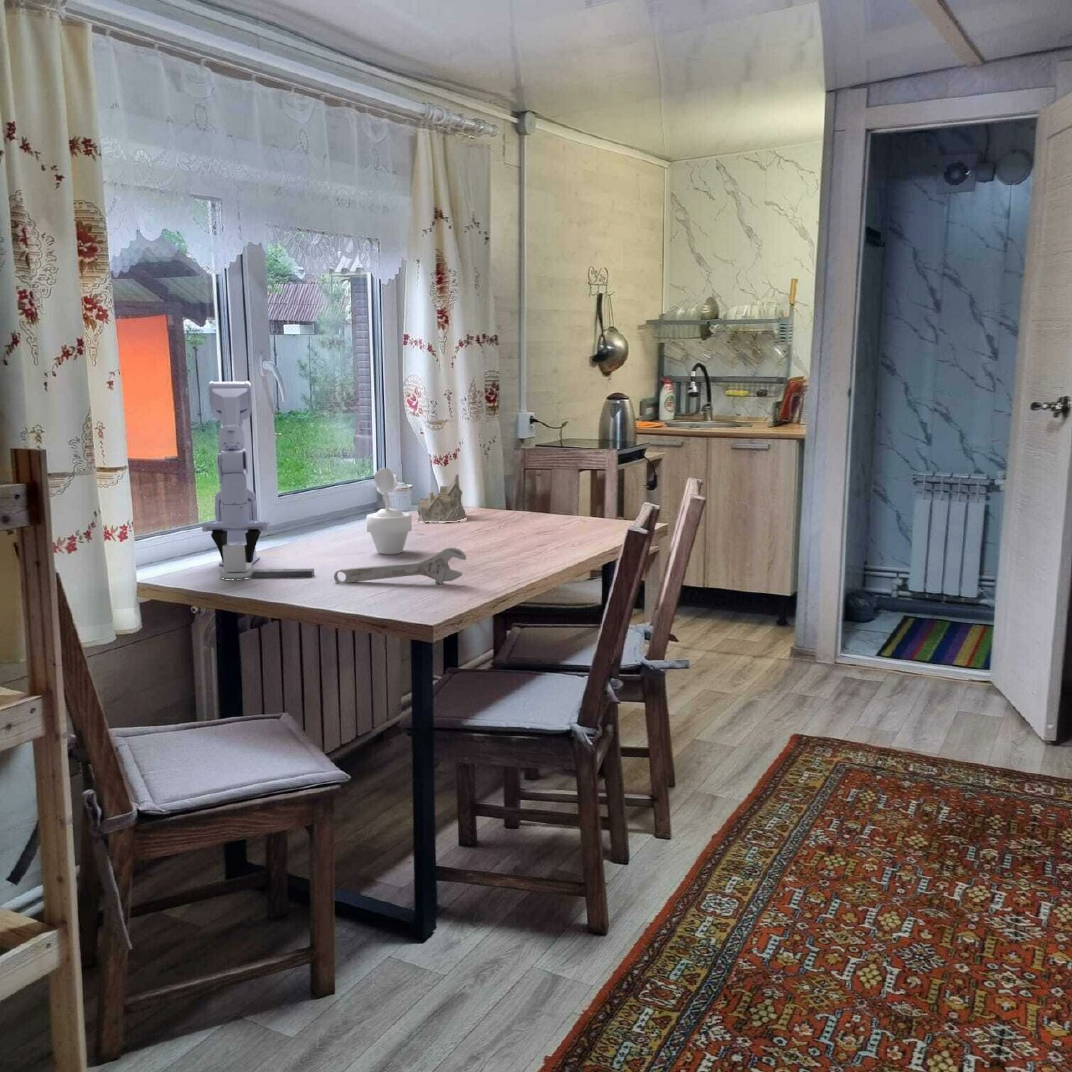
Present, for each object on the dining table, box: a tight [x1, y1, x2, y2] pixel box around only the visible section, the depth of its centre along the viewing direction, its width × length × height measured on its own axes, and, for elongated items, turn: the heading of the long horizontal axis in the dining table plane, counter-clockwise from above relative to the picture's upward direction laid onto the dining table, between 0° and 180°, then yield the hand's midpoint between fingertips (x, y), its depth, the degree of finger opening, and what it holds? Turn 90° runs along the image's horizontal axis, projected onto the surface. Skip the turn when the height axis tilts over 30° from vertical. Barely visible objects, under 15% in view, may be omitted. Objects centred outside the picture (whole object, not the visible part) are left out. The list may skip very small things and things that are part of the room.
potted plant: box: [366, 458, 413, 555], centre depth 260 cm, size 13×12×25 cm
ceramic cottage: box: [416, 474, 468, 522], centre depth 315 cm, size 16×16×15 cm
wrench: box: [333, 546, 467, 585], centre depth 224 cm, size 8×2×30 cm
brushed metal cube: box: [222, 542, 253, 572], centre depth 231 cm, size 5×5×6 cm
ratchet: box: [219, 567, 315, 581], centre depth 232 cm, size 8×21×5 cm, turn 93°
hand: (237, 562), depth 231 cm, fingers closed on brushed metal cube, 5 cm apart
